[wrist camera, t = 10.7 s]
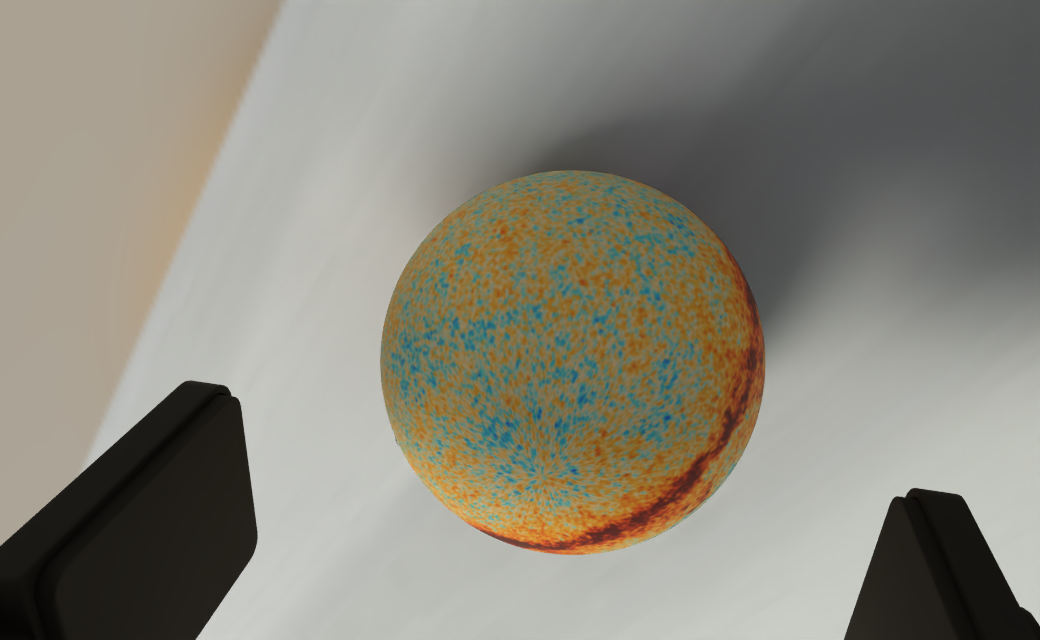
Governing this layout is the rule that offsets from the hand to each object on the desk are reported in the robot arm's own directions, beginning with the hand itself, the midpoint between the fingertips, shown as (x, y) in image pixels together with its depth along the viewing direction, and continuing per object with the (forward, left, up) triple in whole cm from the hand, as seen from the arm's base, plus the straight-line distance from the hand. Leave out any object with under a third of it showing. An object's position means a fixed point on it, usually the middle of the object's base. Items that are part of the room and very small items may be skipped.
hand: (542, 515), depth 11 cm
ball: (0, 0, -8) cm, 8 cm away
